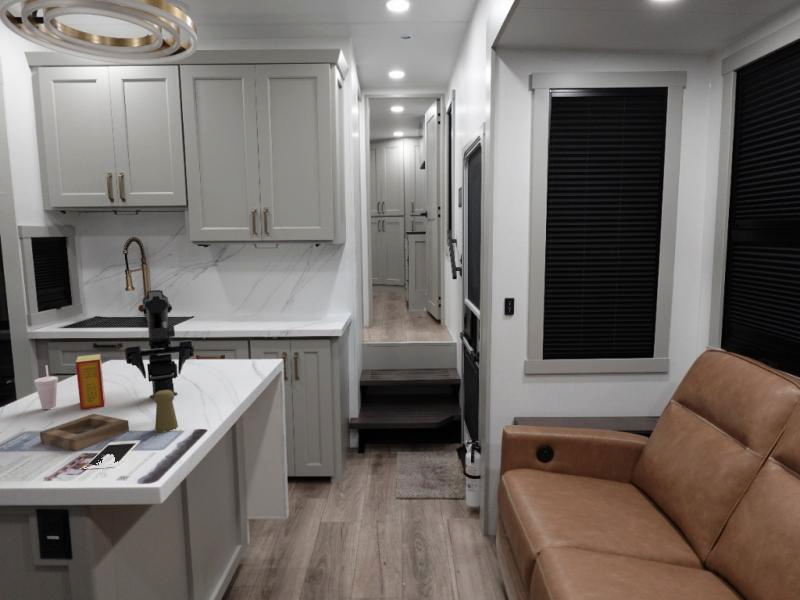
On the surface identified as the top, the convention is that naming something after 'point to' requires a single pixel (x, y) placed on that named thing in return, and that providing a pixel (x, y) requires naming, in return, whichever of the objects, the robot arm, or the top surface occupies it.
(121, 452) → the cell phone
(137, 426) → the top surface
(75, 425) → the walnut socket
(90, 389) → the baking soda box
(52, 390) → the smoothie
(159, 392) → the cork
